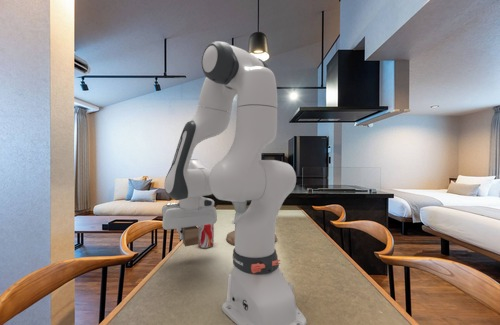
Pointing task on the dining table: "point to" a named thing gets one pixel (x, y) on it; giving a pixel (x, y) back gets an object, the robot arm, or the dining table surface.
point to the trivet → (231, 238)
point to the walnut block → (191, 236)
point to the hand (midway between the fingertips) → (190, 237)
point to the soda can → (207, 236)
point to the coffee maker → (240, 208)
